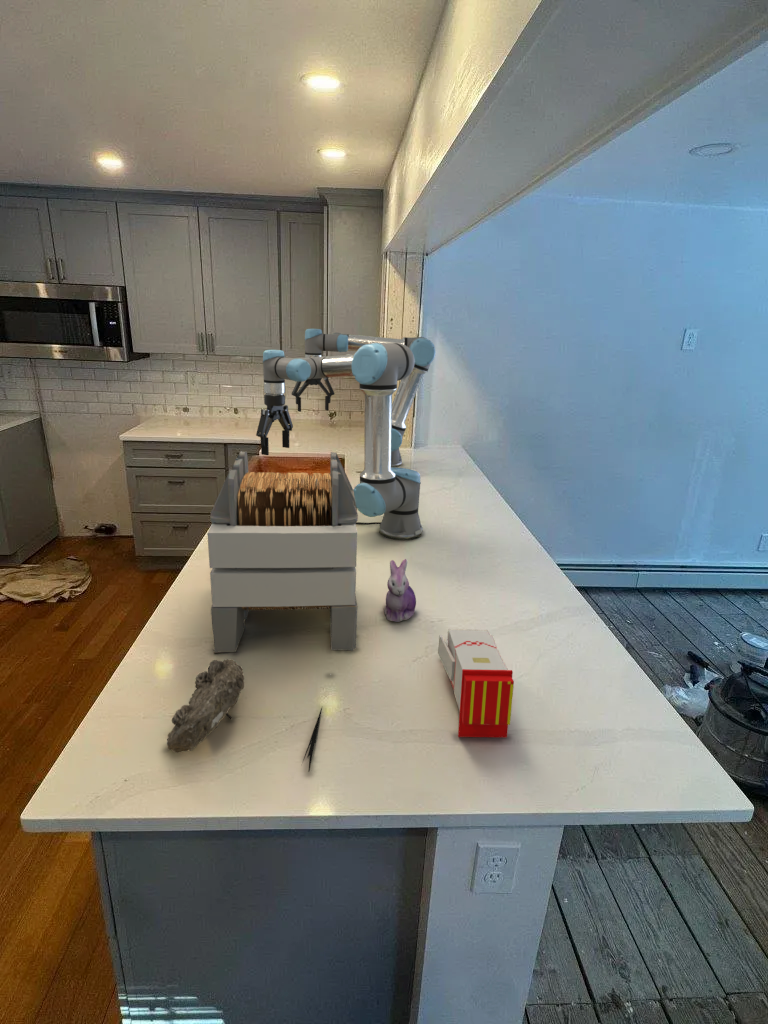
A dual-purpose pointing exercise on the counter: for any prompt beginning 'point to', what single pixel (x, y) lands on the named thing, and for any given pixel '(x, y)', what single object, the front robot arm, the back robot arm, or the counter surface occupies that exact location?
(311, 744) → the feather
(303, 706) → the counter surface
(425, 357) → the back robot arm
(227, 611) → the file storage bin
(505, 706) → the toy
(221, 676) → the fossil
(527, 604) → the counter surface
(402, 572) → the figurine
